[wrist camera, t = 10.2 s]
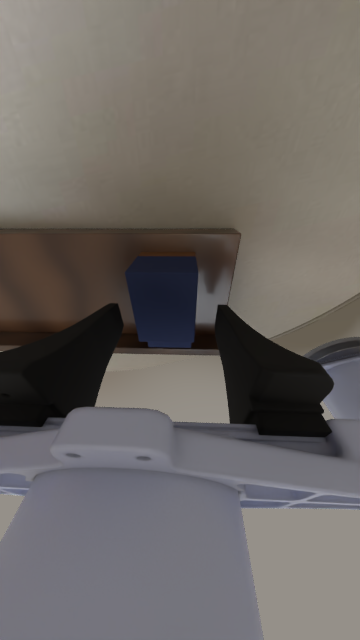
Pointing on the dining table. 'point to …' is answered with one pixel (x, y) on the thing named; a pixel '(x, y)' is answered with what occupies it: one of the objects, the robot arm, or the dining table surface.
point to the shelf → (103, 280)
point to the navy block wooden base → (164, 297)
